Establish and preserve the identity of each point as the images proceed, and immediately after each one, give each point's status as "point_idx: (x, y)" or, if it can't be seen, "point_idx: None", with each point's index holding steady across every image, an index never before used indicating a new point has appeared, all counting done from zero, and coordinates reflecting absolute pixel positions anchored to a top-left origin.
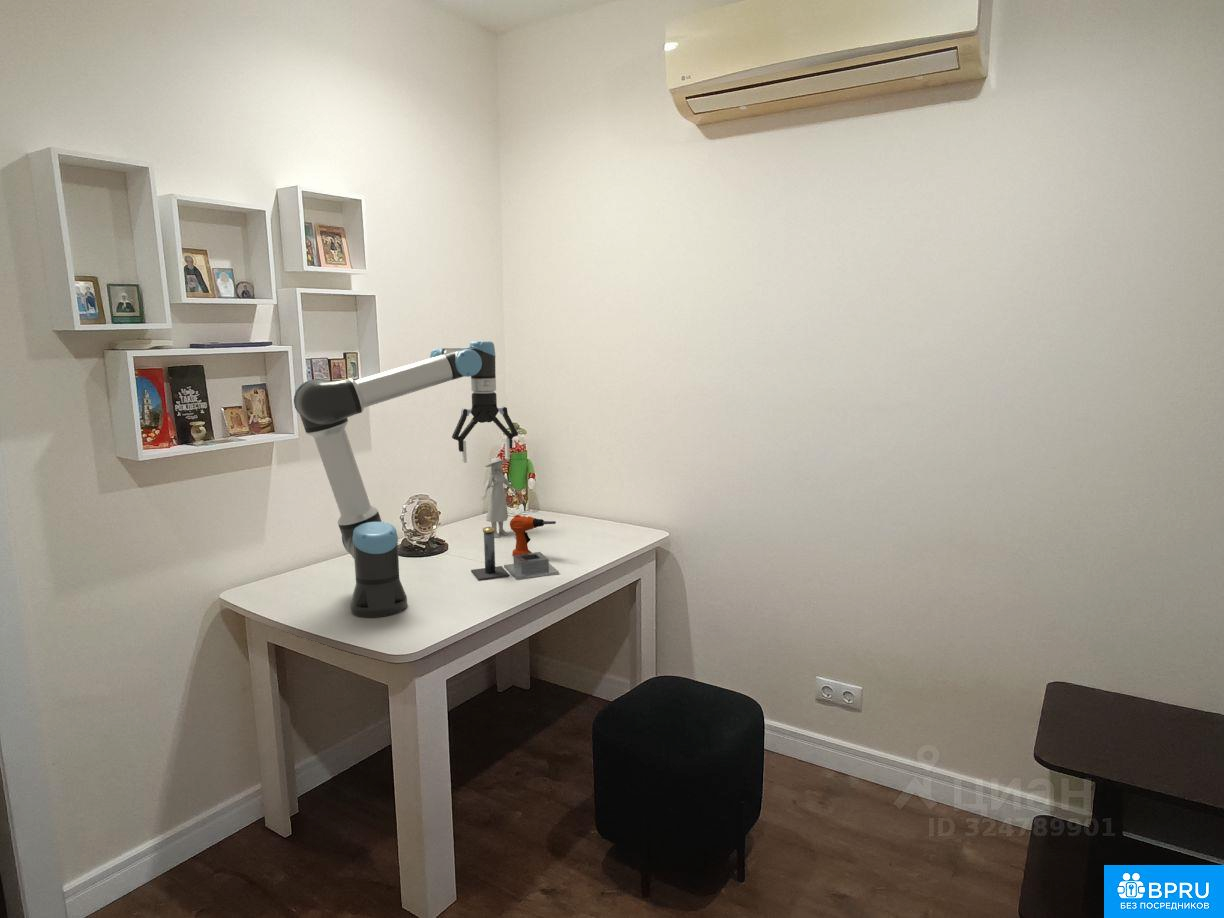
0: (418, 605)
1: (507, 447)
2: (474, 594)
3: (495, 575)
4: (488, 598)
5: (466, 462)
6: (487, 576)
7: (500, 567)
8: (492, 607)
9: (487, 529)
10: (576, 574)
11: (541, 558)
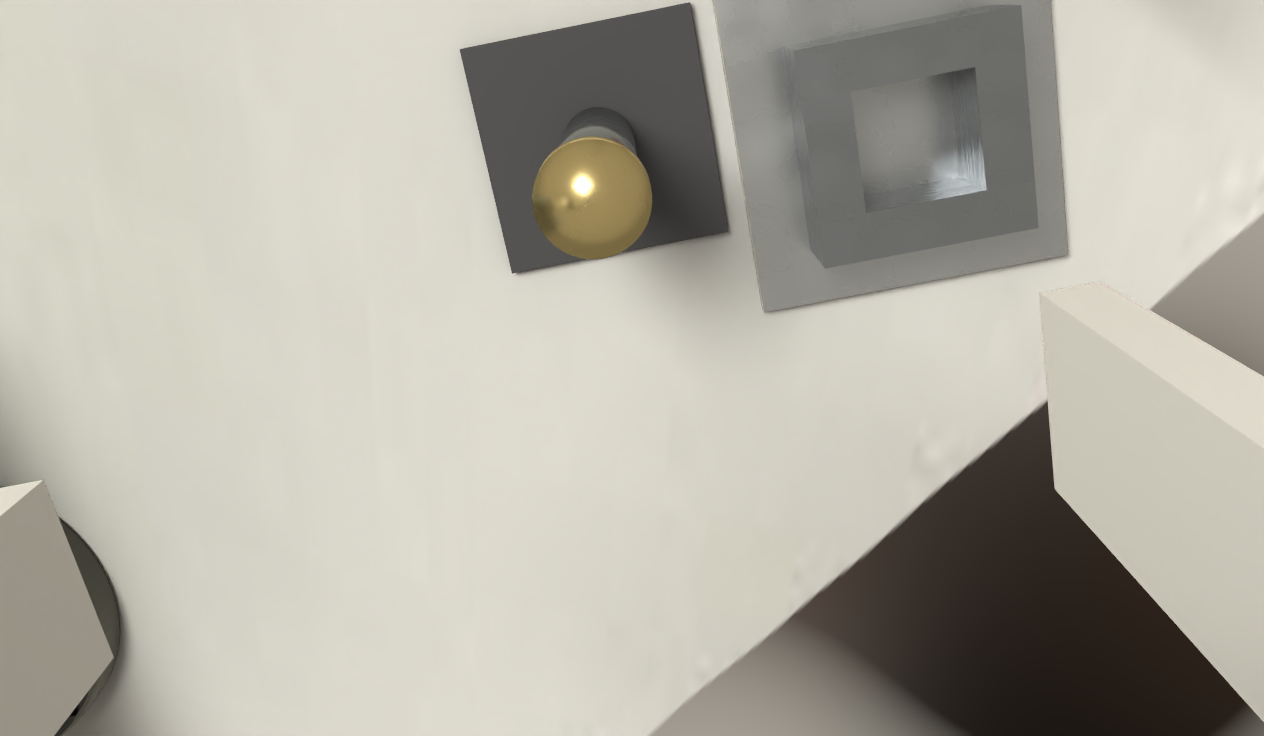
0: (181, 616)
1: (1210, 645)
2: (487, 514)
3: None
4: (566, 593)
5: (107, 659)
6: None
7: (680, 43)
8: (581, 720)
9: (577, 242)
10: (1171, 287)
11: (990, 199)
